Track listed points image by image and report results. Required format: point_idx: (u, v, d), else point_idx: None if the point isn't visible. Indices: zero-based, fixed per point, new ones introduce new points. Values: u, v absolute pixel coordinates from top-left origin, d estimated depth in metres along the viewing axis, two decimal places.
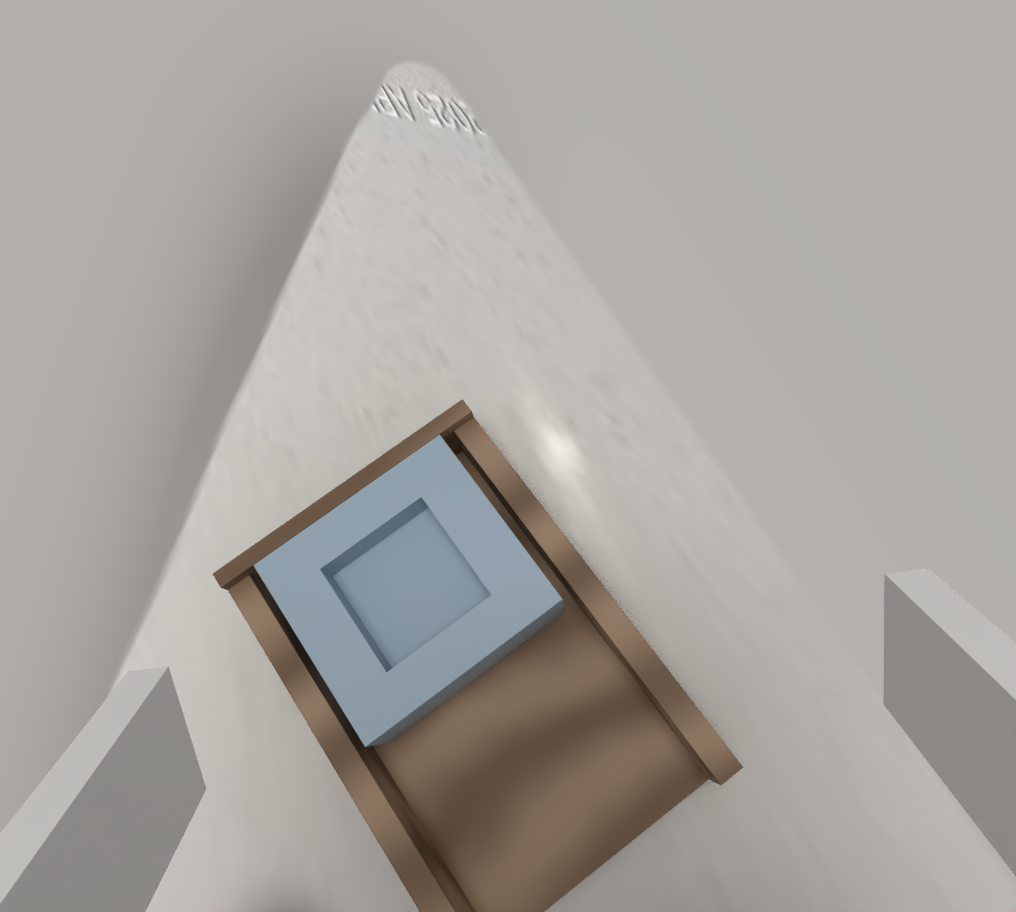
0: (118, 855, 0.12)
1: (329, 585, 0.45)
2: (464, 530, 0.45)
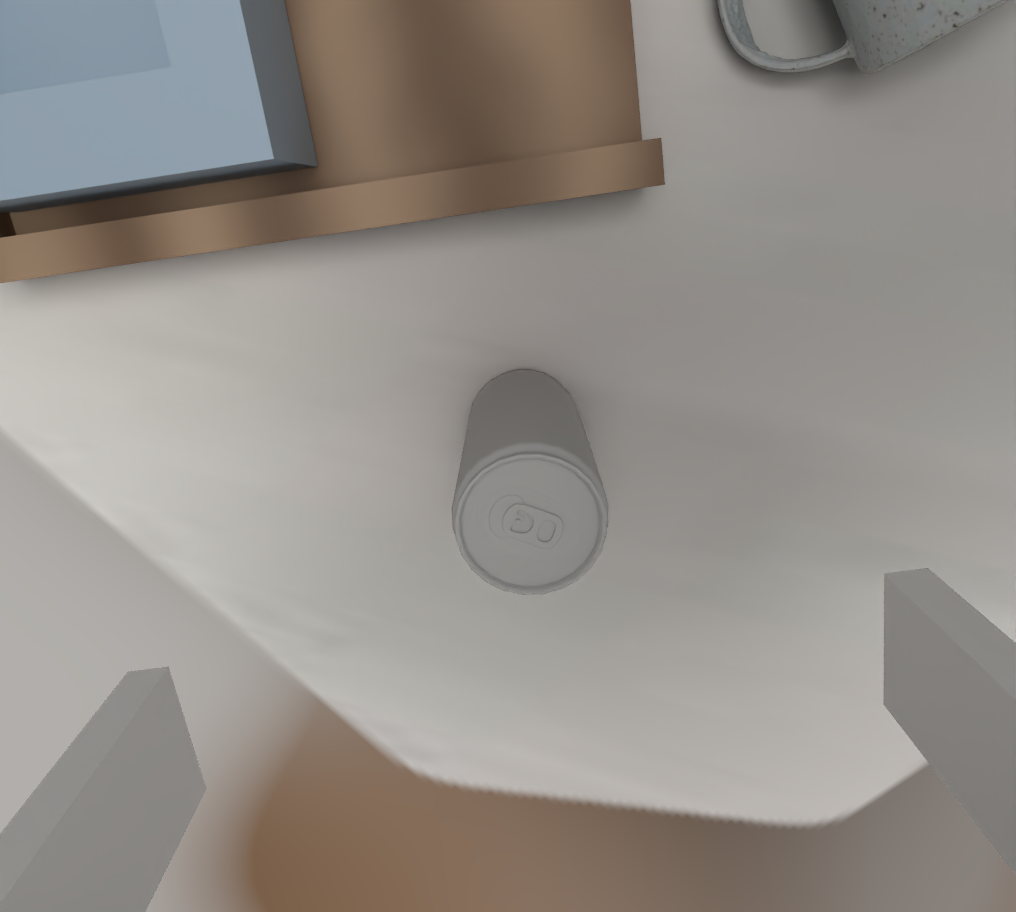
0: (118, 855, 0.12)
1: None
2: None
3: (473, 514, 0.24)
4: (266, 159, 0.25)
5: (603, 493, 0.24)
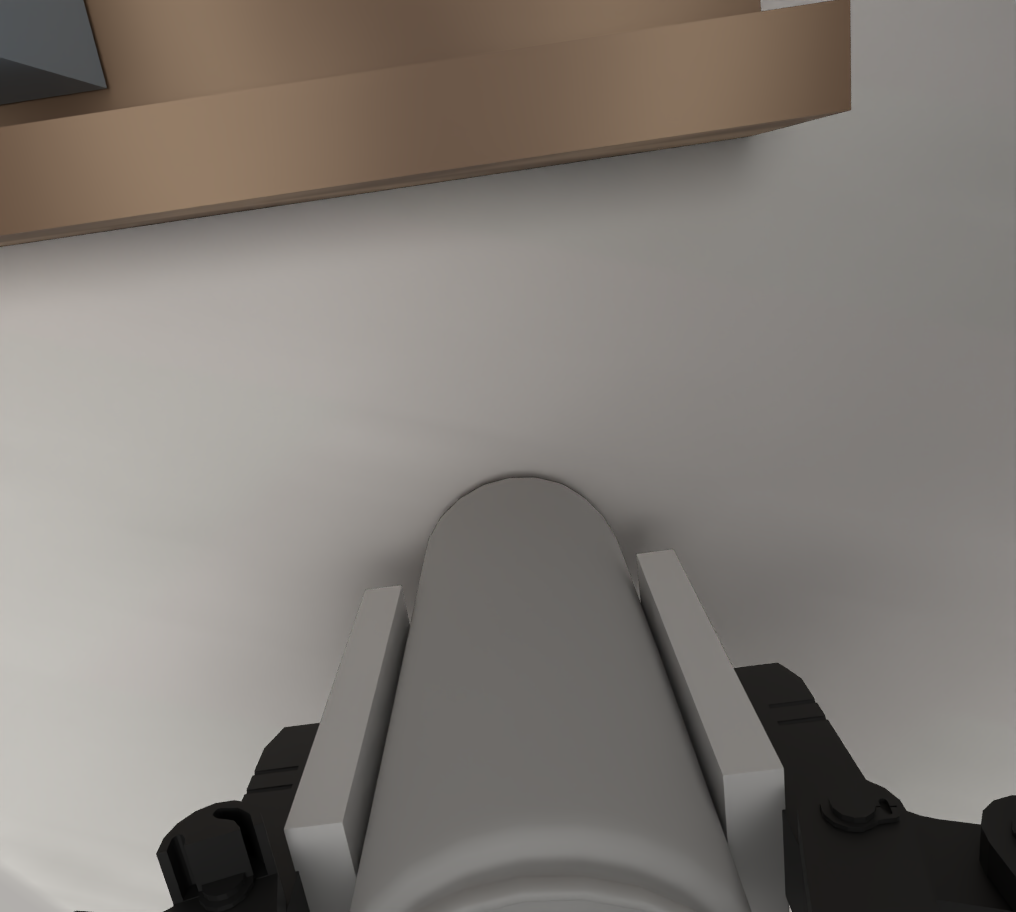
0: None
1: None
2: None
3: None
4: None
5: None
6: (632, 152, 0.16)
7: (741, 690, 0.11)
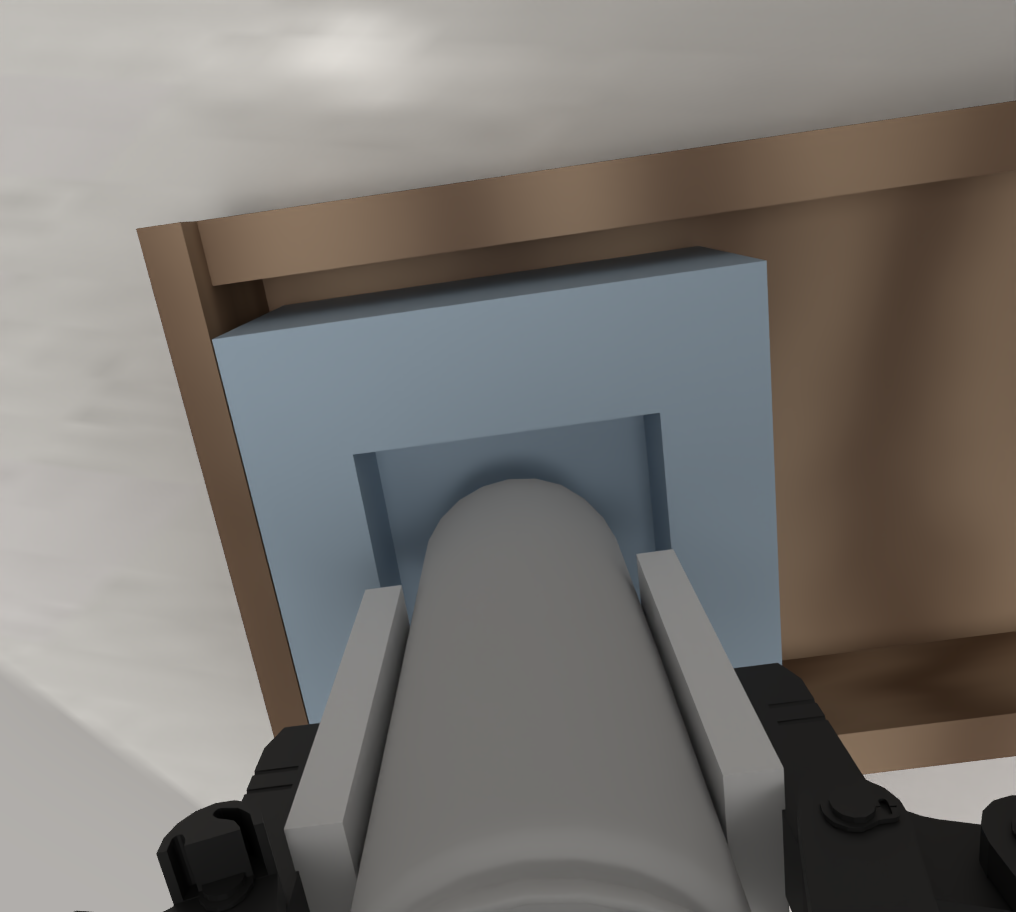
0: None
1: None
2: (482, 398, 0.18)
3: None
4: None
5: None
6: None
7: (741, 690, 0.11)
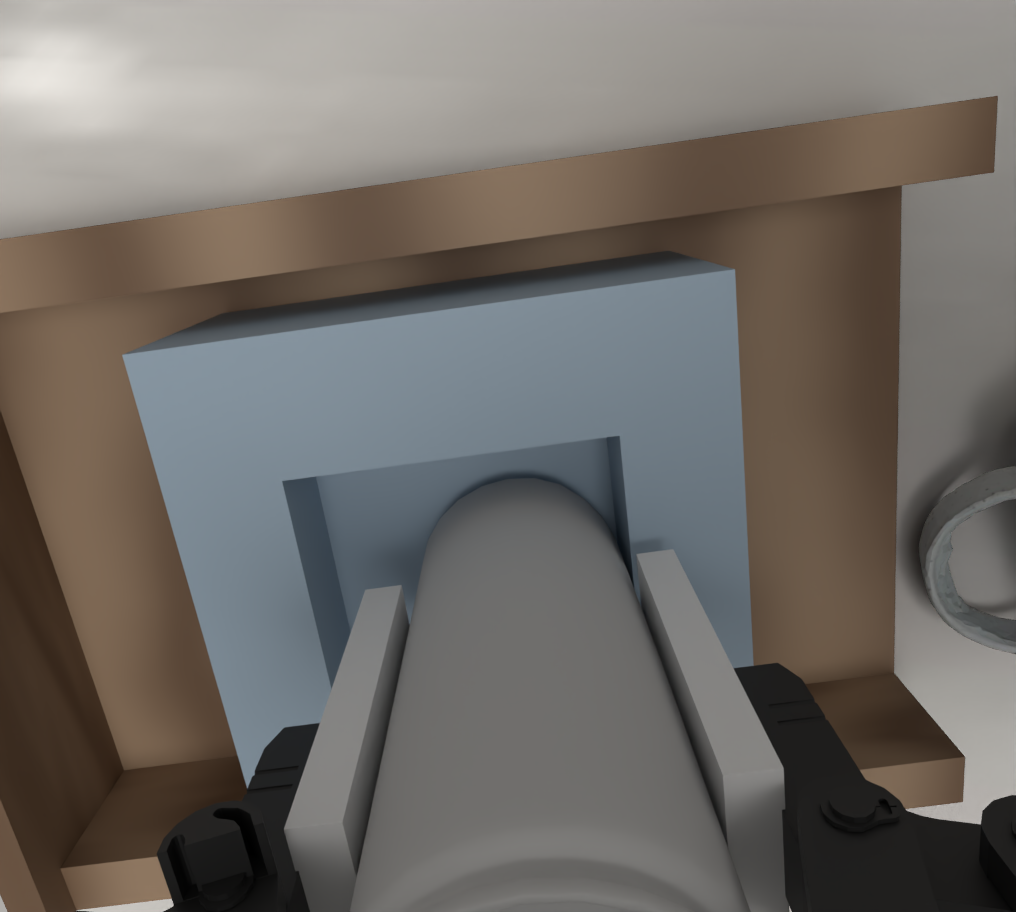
0: None
1: None
2: (423, 420, 0.16)
3: None
4: None
5: None
6: None
7: (741, 690, 0.11)
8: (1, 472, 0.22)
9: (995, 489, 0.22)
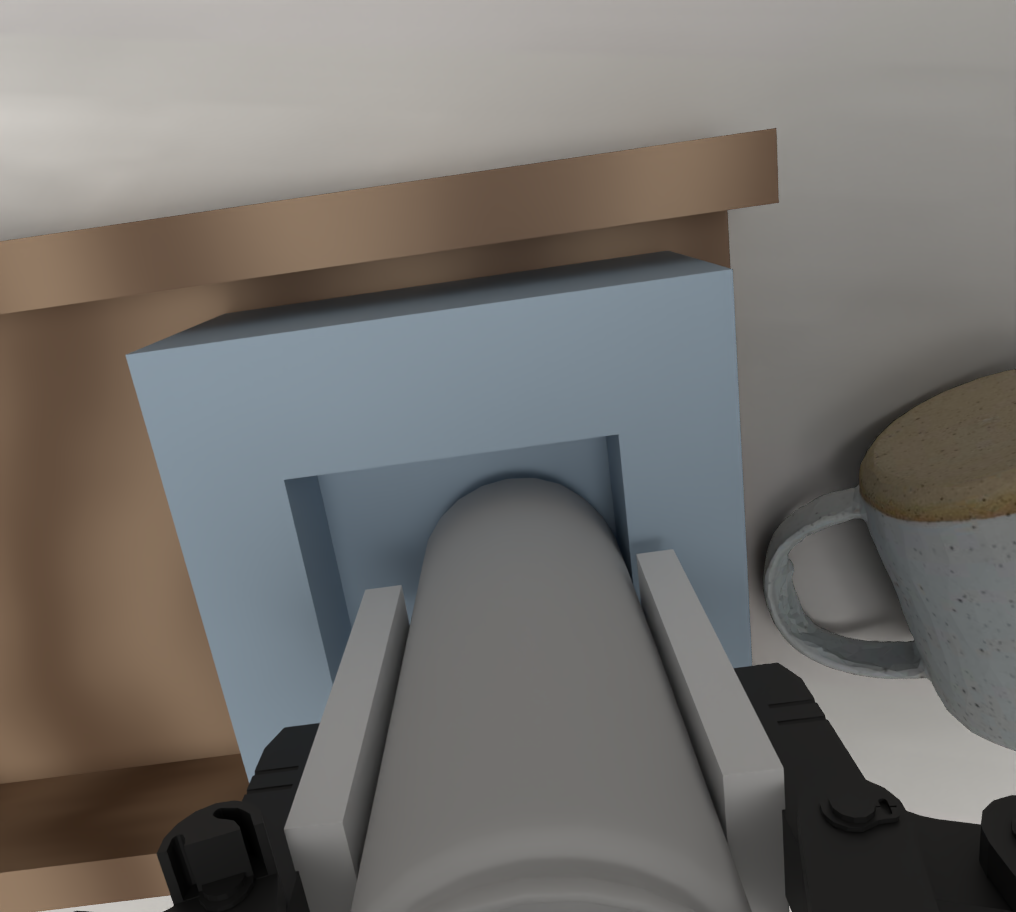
0: None
1: None
2: (423, 419, 0.16)
3: None
4: None
5: None
6: None
7: (741, 690, 0.11)
8: None
9: (823, 514, 0.23)
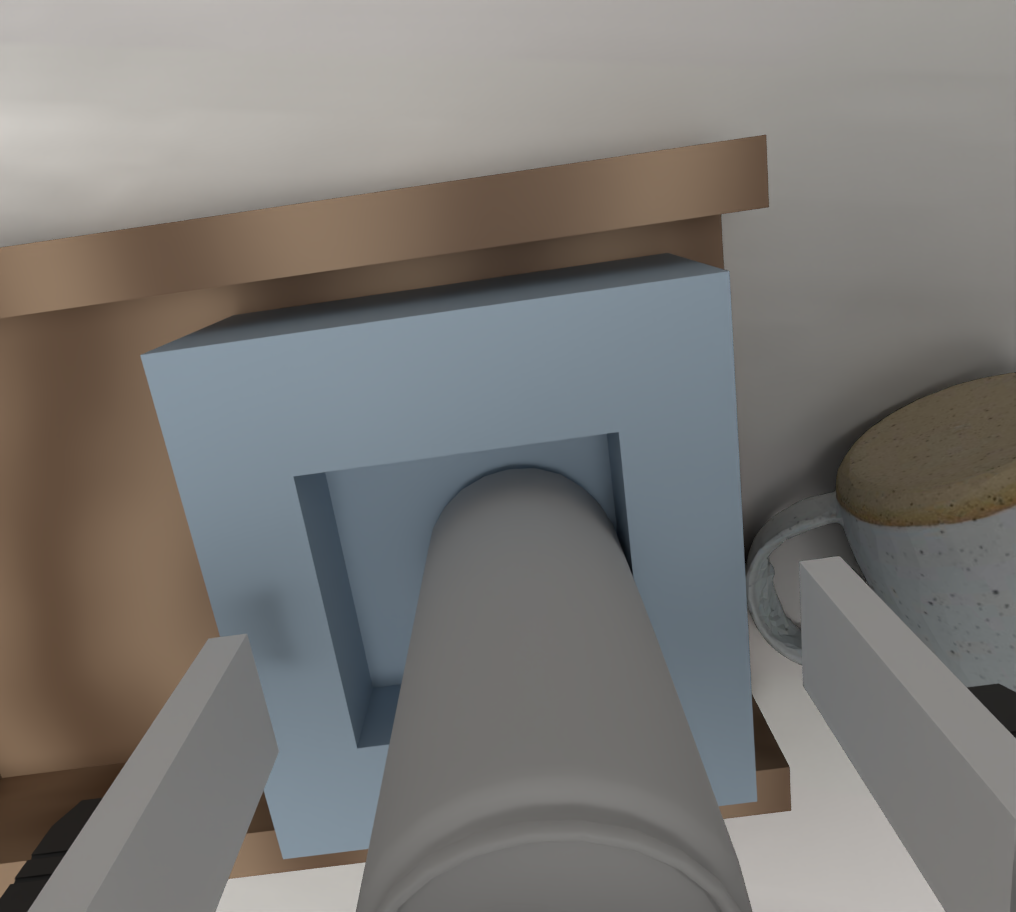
0: (214, 804, 0.13)
1: None
2: (430, 417, 0.17)
3: None
4: (745, 799, 0.20)
5: (743, 889, 0.09)
6: None
7: (991, 717, 0.10)
8: None
9: (801, 518, 0.23)
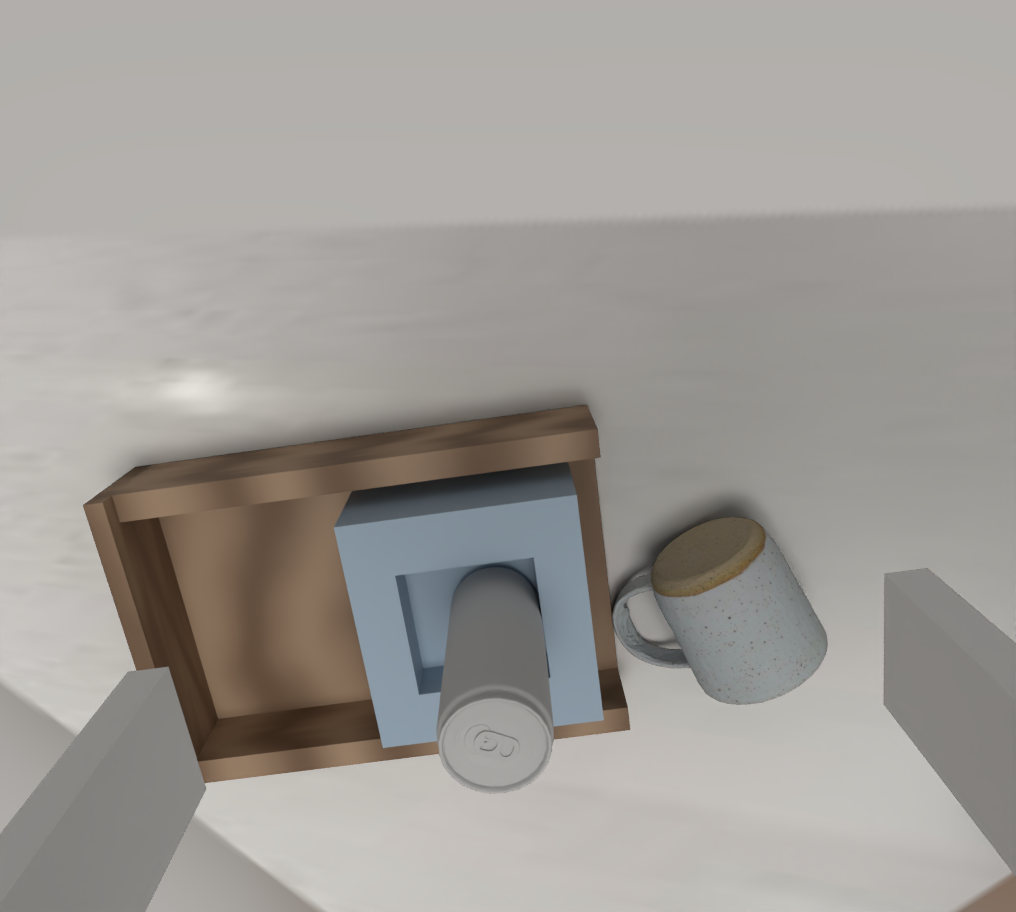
0: (118, 855, 0.12)
1: (440, 692, 0.42)
2: (453, 551, 0.39)
3: (451, 738, 0.32)
4: (598, 719, 0.43)
5: (549, 719, 0.32)
6: None
7: None
8: (167, 571, 0.45)
9: (636, 587, 0.46)
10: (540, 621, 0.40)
